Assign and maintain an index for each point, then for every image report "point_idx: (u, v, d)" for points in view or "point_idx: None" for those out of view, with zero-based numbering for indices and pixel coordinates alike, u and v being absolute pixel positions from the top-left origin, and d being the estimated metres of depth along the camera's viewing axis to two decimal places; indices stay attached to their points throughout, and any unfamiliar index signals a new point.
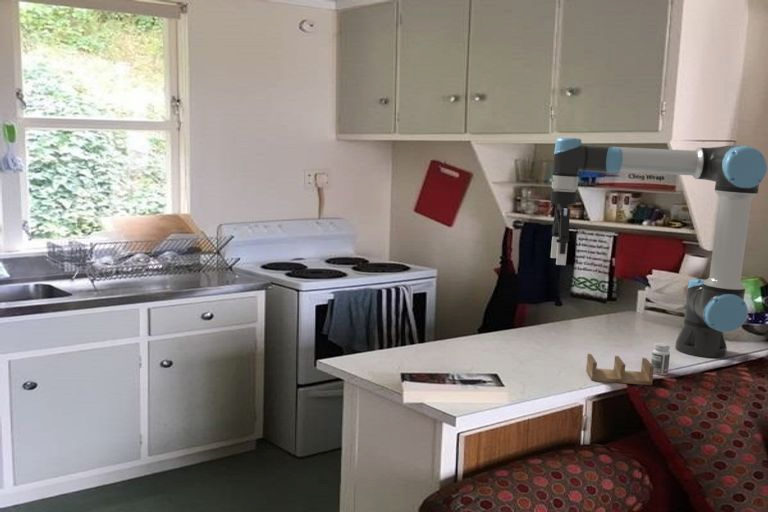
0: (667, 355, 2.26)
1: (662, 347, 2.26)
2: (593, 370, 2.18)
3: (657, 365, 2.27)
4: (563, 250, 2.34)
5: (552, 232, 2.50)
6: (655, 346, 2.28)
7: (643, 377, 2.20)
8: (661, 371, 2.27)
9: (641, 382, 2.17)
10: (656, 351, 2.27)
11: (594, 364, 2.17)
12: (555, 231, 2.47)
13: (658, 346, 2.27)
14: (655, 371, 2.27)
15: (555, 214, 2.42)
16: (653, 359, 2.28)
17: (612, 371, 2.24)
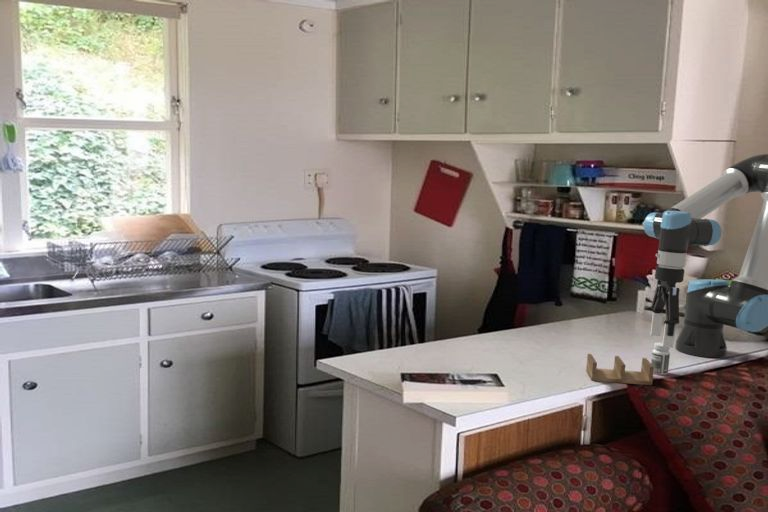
0: (667, 355, 2.26)
1: (662, 347, 2.26)
2: (593, 370, 2.18)
3: (657, 365, 2.27)
4: (671, 332, 2.19)
5: (652, 308, 2.36)
6: (655, 346, 2.28)
7: (643, 377, 2.20)
8: (661, 371, 2.27)
9: (641, 382, 2.17)
10: (656, 351, 2.27)
11: (594, 364, 2.17)
12: (656, 307, 2.33)
13: (658, 346, 2.27)
14: (655, 371, 2.27)
15: (659, 291, 2.27)
16: (653, 359, 2.28)
17: (612, 371, 2.24)
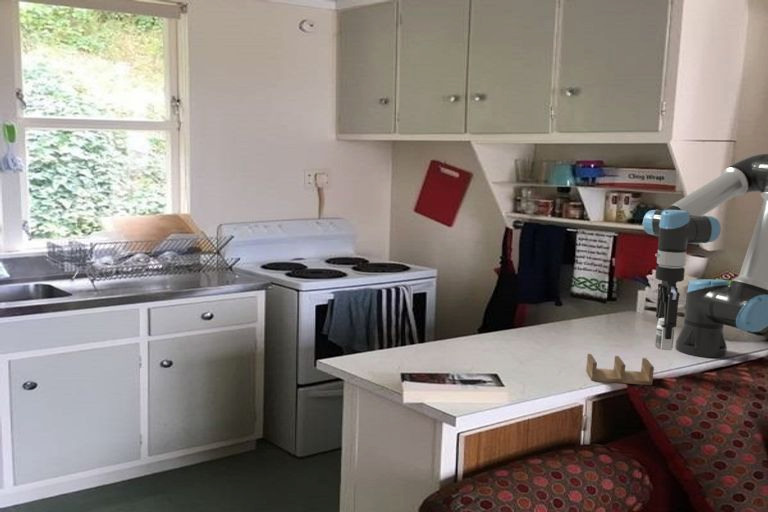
0: None
1: None
2: (593, 370, 2.18)
3: None
4: (669, 335, 2.24)
5: (657, 315, 2.32)
6: (659, 321, 2.27)
7: (643, 377, 2.20)
8: None
9: (641, 382, 2.17)
10: (660, 326, 2.26)
11: (594, 364, 2.17)
12: (661, 314, 2.30)
13: (662, 321, 2.26)
14: (660, 346, 2.27)
15: (661, 290, 2.27)
16: (657, 334, 2.27)
17: (612, 371, 2.24)
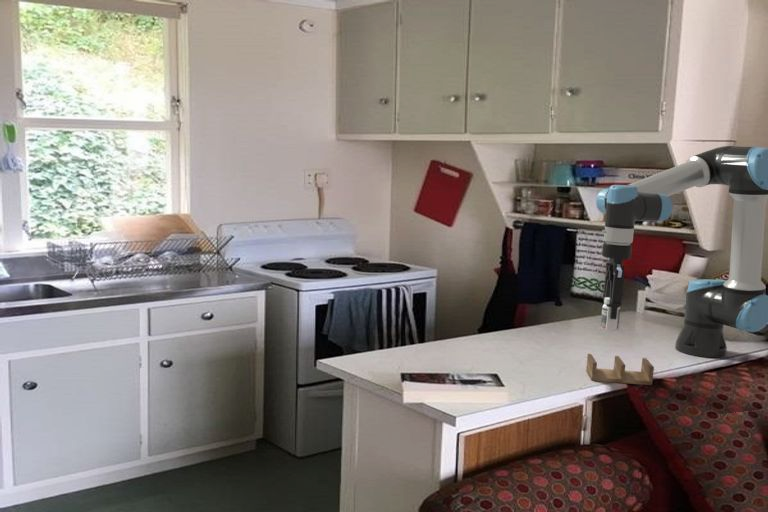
0: None
1: None
2: (593, 370, 2.18)
3: None
4: (614, 315, 2.15)
5: (604, 295, 2.24)
6: (605, 301, 2.18)
7: (643, 377, 2.20)
8: None
9: (641, 382, 2.17)
10: (606, 306, 2.18)
11: (594, 364, 2.17)
12: (608, 293, 2.21)
13: (608, 300, 2.17)
14: (605, 327, 2.18)
15: (607, 268, 2.19)
16: (603, 314, 2.19)
17: (612, 371, 2.24)
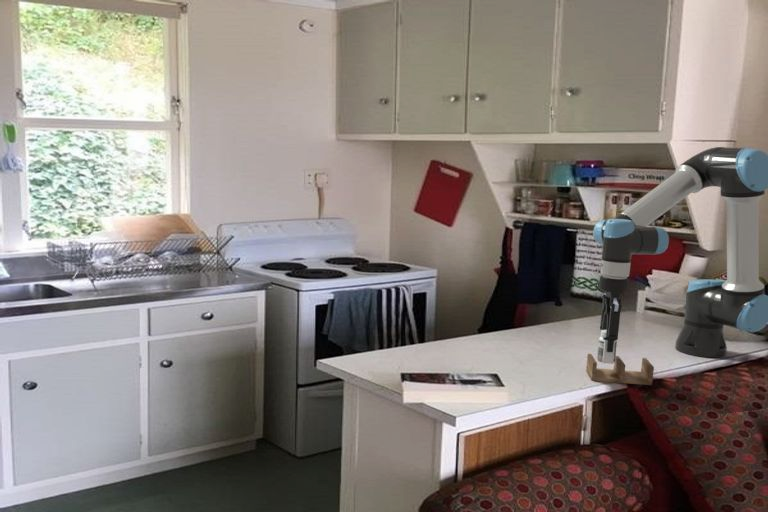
0: None
1: None
2: (593, 370, 2.18)
3: None
4: (611, 348, 2.17)
5: (601, 328, 2.25)
6: (601, 333, 2.20)
7: (643, 377, 2.20)
8: None
9: (641, 382, 2.17)
10: (602, 338, 2.19)
11: (594, 364, 2.17)
12: (604, 326, 2.23)
13: (604, 333, 2.19)
14: (601, 359, 2.20)
15: (604, 301, 2.20)
16: (599, 347, 2.20)
17: (612, 371, 2.24)
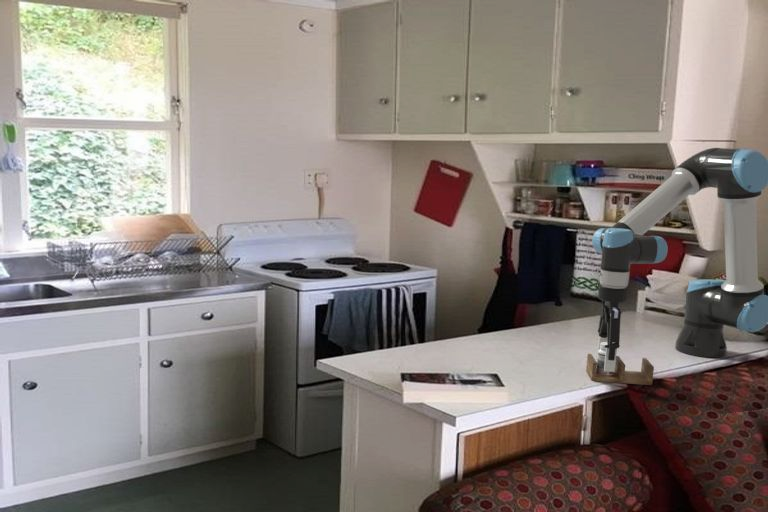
0: None
1: None
2: (593, 370, 2.18)
3: (603, 365, 2.20)
4: (612, 356, 2.14)
5: (598, 331, 2.28)
6: (601, 346, 2.20)
7: (643, 377, 2.20)
8: (607, 371, 2.20)
9: (641, 382, 2.17)
10: (602, 351, 2.20)
11: (594, 364, 2.17)
12: (602, 331, 2.25)
13: (603, 346, 2.19)
14: (601, 372, 2.20)
15: (603, 311, 2.21)
16: (599, 359, 2.21)
17: None
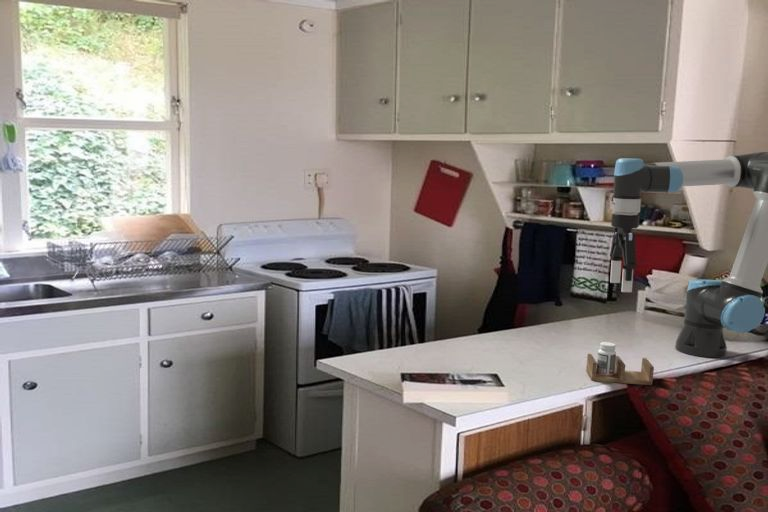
0: (613, 355, 2.19)
1: (608, 347, 2.19)
2: (593, 370, 2.18)
3: (603, 365, 2.20)
4: (629, 277, 2.23)
5: (610, 256, 2.40)
6: (601, 346, 2.20)
7: (643, 377, 2.20)
8: (607, 371, 2.20)
9: (641, 382, 2.17)
10: (602, 351, 2.20)
11: (594, 364, 2.17)
12: (615, 255, 2.37)
13: (604, 346, 2.19)
14: (601, 372, 2.20)
15: (616, 238, 2.31)
16: (599, 359, 2.21)
17: None
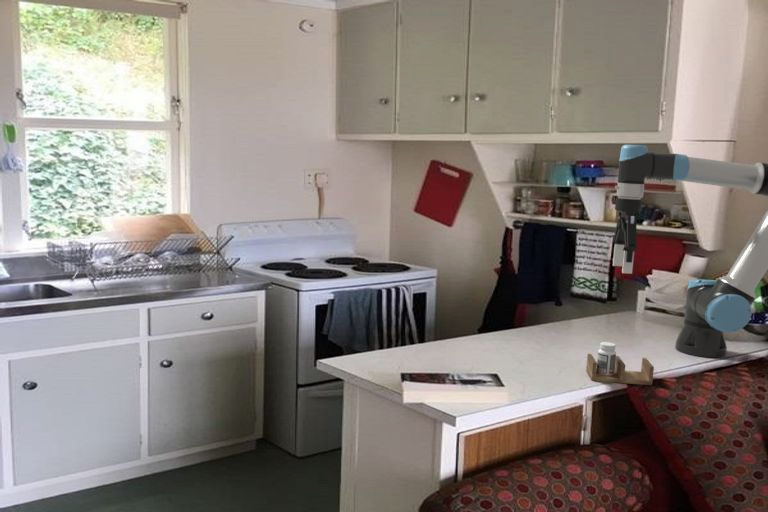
0: (613, 355, 2.19)
1: (608, 347, 2.19)
2: (593, 370, 2.18)
3: (603, 365, 2.20)
4: (630, 258, 2.31)
5: (614, 240, 2.48)
6: (601, 346, 2.20)
7: (643, 377, 2.20)
8: (607, 371, 2.20)
9: (641, 382, 2.17)
10: (602, 351, 2.20)
11: (594, 364, 2.17)
12: (618, 239, 2.45)
13: (604, 346, 2.19)
14: (601, 372, 2.20)
15: (619, 222, 2.39)
16: (599, 359, 2.21)
17: None
